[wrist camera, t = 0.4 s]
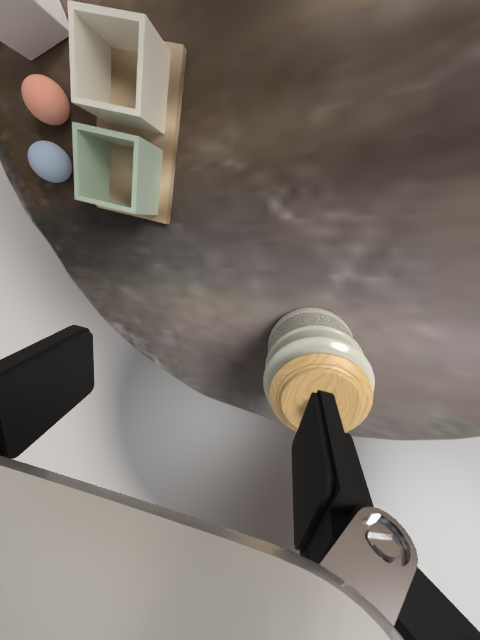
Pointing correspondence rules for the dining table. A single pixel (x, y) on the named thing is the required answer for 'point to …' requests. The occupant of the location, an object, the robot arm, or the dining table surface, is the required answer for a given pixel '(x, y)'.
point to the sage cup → (95, 169)
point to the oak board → (123, 156)
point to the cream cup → (95, 64)
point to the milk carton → (32, 25)
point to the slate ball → (49, 161)
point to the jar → (316, 367)
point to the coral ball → (45, 99)
